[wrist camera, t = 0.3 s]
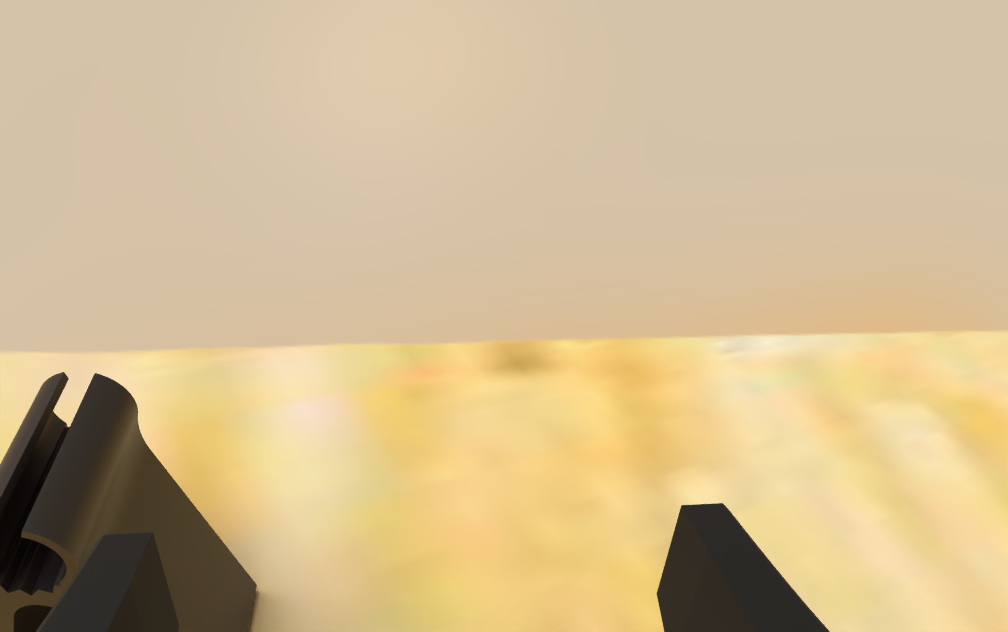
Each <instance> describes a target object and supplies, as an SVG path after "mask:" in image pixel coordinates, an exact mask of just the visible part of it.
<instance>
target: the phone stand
mask: <svg viewBox="0 0 1008 632" xmlns="http://www.w3.org/2000/svg"><path fill="white" fill-rule="evenodd" d="M68 379H69V378H68V377H67V376H66V374H65V373H64V372H63V373H59V374H56V375H54V376H52V377H50V378H49V379H47V380H46V381H45V382H44V383H43V385H42V386H41V388H40V390H39V392H38V394H37V396H36V398H35V400H34V401H33V403H32V405H31V407H30V409H29V411H28V413H27V415H26V417H25V419H24V420H23V422H22V424H21V426H20V428H19V430H18V432H17V434H16V436H15V438H14V439H13V441H12V443H11V445H10V447H9V449H8V451H7V453H6V455H5V457H4V458H3V460H2V462H1V464H0V632H36V631H37V629H38V628H39V626H40V625H41V623H42V622H43V621H44V619H45V618H46V616H47V615H48V614H49V612H50V611H51V609H52V608H53V606H54V605H55V603H56V602H57V601H58V599H59V598H60V596H61V595H62V593H63V592H64V590H65V589H66V587H67V586H68V584H69V583H70V581H71V580H72V578H73V577H74V575H75V574H76V572H77V571H78V569H79V568H80V566H81V565H82V563H83V562H84V560H85V559H86V557H87V556H88V554H89V553H90V551H91V549H92V548H93V546H94V545H95V543H96V542H97V541H98V540H99V539H100V538H101V537H102V536H103V535H109V534H129V533H149V532H153V534H154V538H155V541H156V545H157V548H158V552H159V555H160V559H161V562H162V566H163V569H164V573H165V576H166V580H167V584H168V587H169V591H170V594H171V598H172V601H173V605H174V608H175V612H176V615H177V619H178V622H179V630H178V632H248V629H249V624H250V619H251V613H252V608H253V603H254V597H255V592H256V587H257V586H256V584H255V582H254V581H253V580H252V579H251V577H250V576H249V575H248V573H247V572H246V571H245V570H244V568H243V567H242V566H241V565H240V563H239V562H238V561H237V559H236V558H235V557H234V556H233V554H232V553H231V552H230V551H229V549H228V548H227V547H226V545H225V544H224V543H223V542H222V540H221V539H220V538H219V536H218V535H217V534H216V533H215V531H214V530H213V529H212V528H211V526H210V525H209V524H208V522H207V521H206V520H205V519H204V517H203V516H202V515H201V514H200V512H199V511H198V510H197V508H196V507H195V506H194V505H193V503H192V502H191V501H190V500H189V498H188V497H187V496H186V494H185V493H184V492H183V491H182V489H181V488H180V487H179V486H178V484H177V483H176V482H175V480H174V479H173V478H172V477H171V475H170V474H169V473H168V472H167V470H166V469H165V468H164V466H163V465H162V464H161V463H160V461H159V460H158V459H157V458H156V456H155V455H154V454H153V452H152V451H151V450H150V449H149V447H148V446H147V444H146V443H145V441H144V439H143V437H142V435H141V433H140V430H139V425H138V408H137V404H136V402H135V400H134V398H133V397H132V395H131V394H130V393H129V392H128V391H127V390H126V389H125V388H124V387H123V386H122V385H120V384H119V383H117V382H116V381H114V380H112V379H110V378H108V377H105V376H103V375H100V374H96V373H95V374H94V376H93V378H92V381H91V383H90V385H89V387H88V389H87V391H86V393H85V396H84V398H83V400H82V402H81V404H80V406H79V409H78V411H77V413H76V415H75V417H74V419H73V422H72V424H71V426H70V427H67V424H66V423H65V422H64V421H62V420H61V419H60V418H59V417H58V416H56V414H55V413H54V412H53V409H54V407H55V405H56V403H57V401H58V399H59V397H60V395H61V393H62V391H63V389H64V387H65V385H66V383H67V381H68Z"/></svg>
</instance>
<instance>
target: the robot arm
mask: <svg viewBox="0 0 1008 632" xmlns="http://www.w3.org/2000/svg"><path fill="white" fill-rule="evenodd" d="M657 597H658V602H659V607H660V612H661V617H662V621H663V626H664V631H665V632H829V630H828V629H827V628H826V627H825V626H824V625H823V624H822V622H821V621H820V620H819V619H818V618H817V617H816V616H815V614H814V613H813V612H812V611H811V610H810V609H809V608H808V606H807V605H806V604H805V603H804V602H803V601H802V599H801V598H800V597H799V596H798V595H797V593H796V592H795V591H794V590H793V589H792V588H791V586H790V585H789V584H788V583H787V581H786V580H785V579H784V578H783V577H782V575H781V574H780V573H779V572H778V571H777V569H776V568H775V567H774V566H773V564H772V563H771V562H770V561H769V560H768V558H767V557H766V556H765V555H764V553H763V552H762V551H761V550H760V548H759V547H758V546H757V545H756V543H755V542H754V541H753V540H752V538H751V537H750V536H749V535H748V533H747V532H746V531H745V530H744V528H743V527H742V526H741V525H740V523H739V522H738V521H737V520H736V518H735V517H734V516H733V515H732V513H731V512H730V511H729V510H728V508H727V507H726V506H725V505H724V504H723V503H720V504H700V505H682V506H681V509H680V513H679V516H678V520H677V523H676V527H675V531H674V534H673V538H672V541H671V545H670V548H669V552H668V556H667V559H666V563H665V566H664V570H663V573H662V577H661V580H660V584H659V588H658V591H657ZM178 630H179V622H178V619H177V615H176V612H175V608H174V605H173V601H172V598H171V594H170V591H169V587H168V584H167V580H166V576H165V573H164V569H163V566H162V562H161V559H160V555H159V552H158V548H157V545H156V541H155V538H154V534H153V532H149V533H129V534H109V535H103V536H102V537H101V538H100V539H99V540H98V541H97V542H96V543H95V545H94V546H93V548H92V549H91V551H90V553H89V554H88V556H87V557H86V559H85V560H84V562H83V563H82V565H81V566H80V568H79V569H78V571H77V572H76V574H75V575H74V577H73V578H72V580H71V581H70V583H69V584H68V586H67V587H66V589H65V590H64V592H63V593H62V595H61V596H60V598H59V599H58V601H57V602H56V603H55V605H54V606H53V608H52V609H51V611H50V612H49V614H48V615H47V616H46V618H45V619H44V621H43V622H42V623H41V625H40V626H39V628H38V629H37V631H36V632H178Z"/></svg>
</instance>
